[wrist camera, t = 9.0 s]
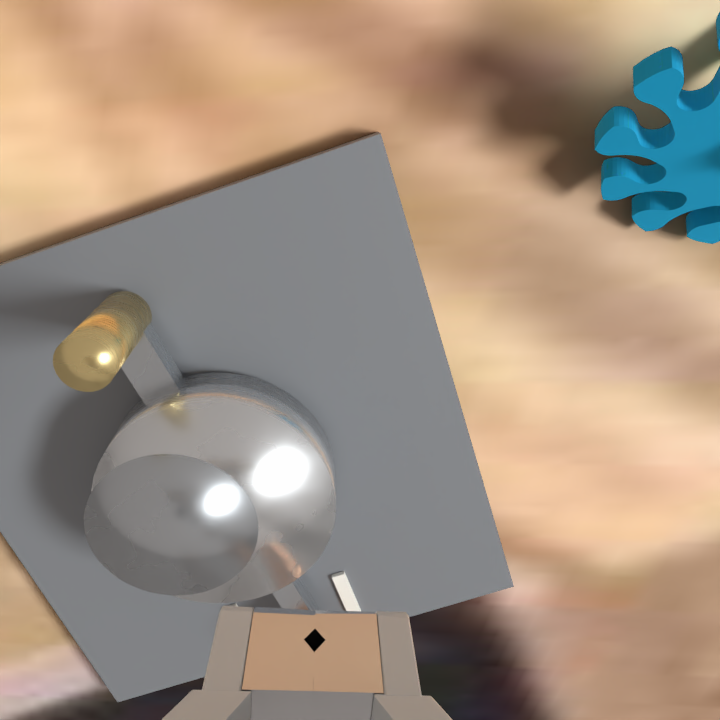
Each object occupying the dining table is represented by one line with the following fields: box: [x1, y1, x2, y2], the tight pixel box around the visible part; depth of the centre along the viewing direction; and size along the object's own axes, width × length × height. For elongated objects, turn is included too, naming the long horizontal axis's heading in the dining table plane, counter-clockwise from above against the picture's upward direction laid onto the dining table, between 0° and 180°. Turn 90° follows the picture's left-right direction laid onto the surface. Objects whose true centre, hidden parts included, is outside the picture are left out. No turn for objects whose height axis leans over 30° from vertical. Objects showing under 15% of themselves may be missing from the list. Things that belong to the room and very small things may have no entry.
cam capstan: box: [53, 291, 336, 610], centre depth 24 cm, size 10×19×5 cm, turn 23°
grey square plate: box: [0, 132, 514, 702], centre depth 27 cm, size 21×20×1 cm
